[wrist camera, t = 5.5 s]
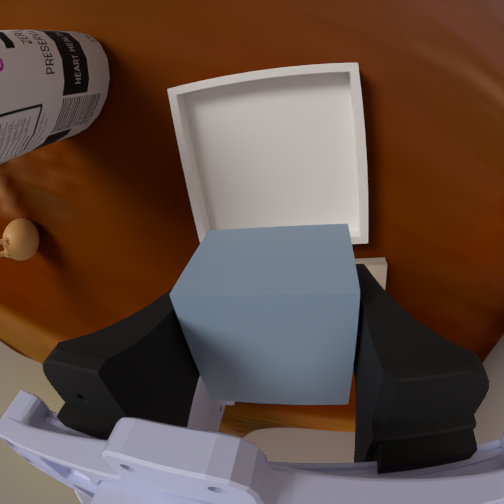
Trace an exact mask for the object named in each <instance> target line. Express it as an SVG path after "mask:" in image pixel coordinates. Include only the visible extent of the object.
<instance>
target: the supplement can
mask: <svg viewBox="0 0 504 504" xmlns="http://www.w3.org/2000/svg"><path fill="white" fill-rule="evenodd" d="M109 80H110V74H109V66H108V58H107V56H106V54H105V52H104V50H103V48H102V46H101V44H100V43H99V42H98V41H96V40H95V39H94V38H93V37H91V36H90V35H89V34H84V33H78V32H68V31H51V30H0V164H1V163H4V162H6V161H8V160H10V159H13V158H15V157H17V156H20V155H22V154H25V153H27V152H30V151H32V150H35V149H37V148H40V147H43V146H45V145H48V144H51V143H53V142H56V141H59V140H62V139H65V138H68V137H71V136H74V135H76V134H78V133H80V132H81V131H83V130H85V129H87V128H88V127H89V126H90V125H91V124H92V122H93V121H94V120H95V119H96V118H97V117H98V116H99V114H100V111H101V109H102V107H103V105H104V102H105V100H106V98H107V93H108V86H109Z"/></svg>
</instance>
